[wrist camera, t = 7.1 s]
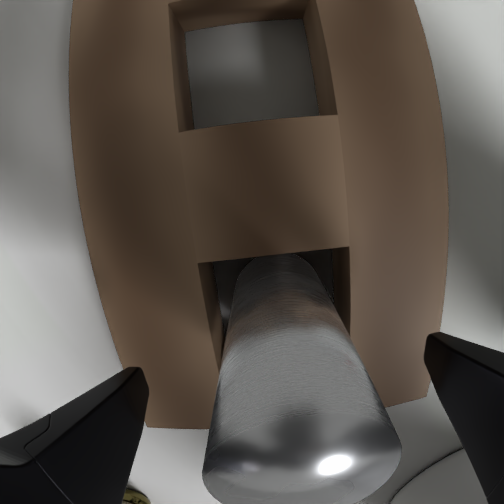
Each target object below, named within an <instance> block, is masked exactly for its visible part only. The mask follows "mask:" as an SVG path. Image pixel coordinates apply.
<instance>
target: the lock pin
mask: <svg viewBox="0 0 504 504" xmlns="http://www.w3.org/2000/svg"><path fill="white" fill-rule="evenodd" d="M401 454H402V447H401V443H400V440H399V438H398V435H397V433H396V431H395V429H394V427H393V424H392V422H391V420H390V418H389V416H388V414H387V411H386V409H385V407H384V405H383V403H382V401H381V399H380V397H379V395H378V392H377V390H376V388H375V386H374V384H373V382H372V380H371V378H370V376H369V374H368V372H367V370H366V368H365V366H364V364H363V362H362V360H361V358H360V356H359V354H358V352H357V350H356V348H355V346H354V344H353V342H352V340H351V338H350V336H349V334H348V332H347V330H346V328H345V326H344V324H343V322H342V320H341V318H340V316H339V314H338V313H337V311H336V309H335V307H334V305H333V303H332V301H331V299H330V297H329V295H328V294H327V292H326V290H325V288H324V286H323V284H322V282H321V281H320V279H319V277H318V275H317V273H316V271H315V270H314V268H313V267H312V266H311V265H310V264H309V263H308V262H307V261H306V260H304V259H303V258H301V257H299V256H297V255H295V254H292V253H286V254H277V255H268V256H259V257H257V258H255V259H253V260H252V261H251V262H249V263H248V264H247V265H246V266H245V267H244V268H243V270H242V271H241V273H240V275H239V277H238V279H237V282H236V286H235V291H234V297H233V302H232V307H231V313H230V318H229V324H228V329H227V335H226V340H225V346H224V351H223V357H222V362H221V368H220V373H219V379H218V384H217V390H216V396H215V401H214V407H213V413H212V418H211V424H210V430H209V436H208V441H207V447H206V453H205V459H204V465H203V471H202V477H203V481H204V485H205V486H206V488H207V490H208V491H209V492H210V494H211V495H212V496H213V497H214V498H215V499H217V500H218V501H219V502H221V503H222V504H355V503H357V502H359V501H361V500H362V499H364V498H366V497H367V496H369V495H371V494H372V493H373V492H375V491H376V490H377V489H379V488H380V487H381V486H382V485H383V484H384V483H385V482H386V481H387V480H388V479H389V478H390V477H391V476H392V474H393V473H394V471H395V470H396V468H397V466H398V464H399V462H400V458H401Z"/></svg>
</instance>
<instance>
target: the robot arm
mask: <svg viewBox="0 0 504 504" xmlns="http://www.w3.org/2000/svg"><path fill="white" fill-rule="evenodd" d="M424 363H425V365H426V368H427V370H428V373H429V375H430V378H431V380H432V383H433V385H434V388H435V390H436V393H437V395H438V397H439V399H440V401H441V403H442V405H443V407H444V409H445V411H446V413H447V415H448V417H449V419H450V421H451V423H452V425H453V427H454V429H455V431H456V433H457V435H458V437H459V439H460V441H461V443H462V445H463V447H464V449H465V451H466V453H467V456H468V458H469V460H470V462H471V464H472V466H473V469H474V471H475V473H476V475H477V478H478V480H479V482H480V485H481V487H482V489H483V492H484V494H485V497H486V500H487V502H488V504H504V353H503V352H500V351H496V350H493V349H490V348H487V347H484V346H481V345H478V344H475V343H472V342H469V341H466V340H463V339H460V338H457V337H454V336H451V335H448V334H445V333H442V332H435V333H431V334H429V335H428V336H427V338H426V344H425V350H424ZM148 398H149V386H148V383H147V381H146V378H145V375H144V372H143V370H142V368H140V367H127V368H126V369H124V370H122V371H121V372H119V373H117V374H116V375H114V376H112V377H111V378H109V379H107V380H106V381H104V382H102V383H101V384H99V385H97V386H96V387H94V388H92V389H91V390H89V391H87V392H86V393H84V394H82V395H81V396H79V397H77V398H75V399H74V400H72V401H70V402H69V403H67V404H65V405H64V406H62V407H60V408H58V409H57V410H55V411H53V412H51V414H48V415H46V416H44V417H43V418H41V419H39V420H37V421H35V422H33V423H32V424H30V425H28V426H26V427H24V428H21V429H19V430H17V431H15V432H13V433H11V434H8V435H6V436H4V437H2V438H0V504H122V501H123V497H124V493H125V490H126V486H127V483H128V479H129V476H130V472H131V469H132V465H133V462H134V458H135V455H136V451H137V448H138V445H139V441H140V438H141V435H142V431H143V426H144V420H145V414H146V409H147V404H148Z"/></svg>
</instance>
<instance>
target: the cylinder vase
mask: <svg viewBox="0 0 504 504" xmlns="http://www.w3.org/2000/svg"><path fill="white" fill-rule="evenodd" d="M390 504H488V502H487V500H486V497H485V494H484V492H483V489H482V487H481V485H480V482H479V480H478V478H477V475H476V473H475V471H474V469H473V466H472V464H471V462H470V460H469V458H468V456H467V453H466V451H465V449H462V450H460V451H457V452H455V453H453V454H451V455H449V456H448V457H446V458H444V459H442V460H440V461H439V462H437V463H435V464H434V465H432V466H431V467H429V468H428V469H426V470H425V471H423V472H422V473H420V474H419V475H418V476H416V477H415V478H414V479H412V480H411V481H410V482H409V483H407V484H406V485H405V486H404V487H403V488H402V489H401V490H400V491H399V492H398V493H397V494H396V496H395V497H394V498H393V500H392V501H391V503H390Z"/></svg>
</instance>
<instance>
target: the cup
mask: <svg viewBox="0 0 504 504" xmlns="http://www.w3.org/2000/svg"><path fill="white" fill-rule="evenodd" d="M122 504H151V502H150V501H149V499H148V498H147V497H145V496H144V495H142V494H140V493H138V492H136V491H133V490H129V489H126V490H125V493H124V497H123V501H122Z"/></svg>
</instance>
